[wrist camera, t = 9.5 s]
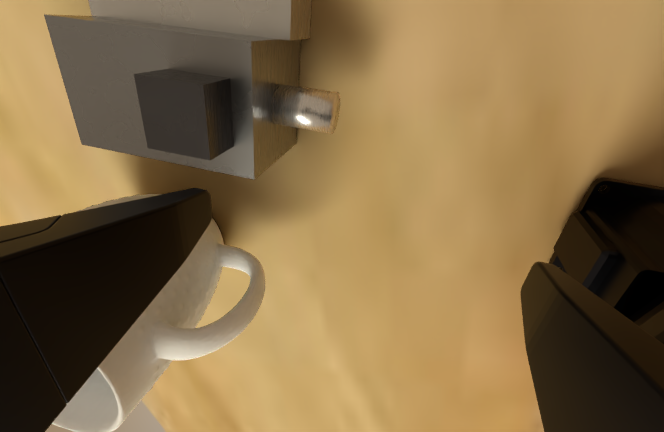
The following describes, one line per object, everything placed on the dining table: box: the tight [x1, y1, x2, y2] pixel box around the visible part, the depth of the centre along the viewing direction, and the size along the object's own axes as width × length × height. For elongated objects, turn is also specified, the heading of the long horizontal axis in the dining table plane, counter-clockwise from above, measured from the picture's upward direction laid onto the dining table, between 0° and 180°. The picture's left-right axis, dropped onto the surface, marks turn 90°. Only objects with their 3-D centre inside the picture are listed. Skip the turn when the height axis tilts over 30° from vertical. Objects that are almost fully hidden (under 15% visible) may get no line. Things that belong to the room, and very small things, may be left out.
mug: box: [52, 194, 265, 432], centre depth 22 cm, size 15×11×13 cm
